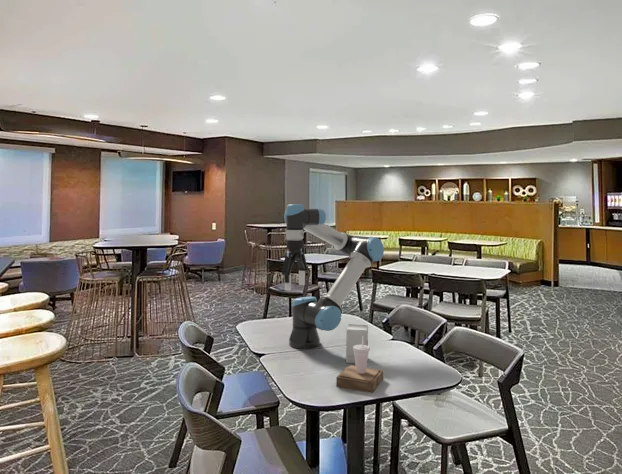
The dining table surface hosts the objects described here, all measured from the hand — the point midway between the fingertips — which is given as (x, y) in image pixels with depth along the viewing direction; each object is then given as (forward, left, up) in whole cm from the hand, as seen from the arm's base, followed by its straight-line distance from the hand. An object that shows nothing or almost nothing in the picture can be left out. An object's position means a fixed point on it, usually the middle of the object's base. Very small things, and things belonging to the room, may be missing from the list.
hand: (295, 287), depth 192 cm
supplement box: (-9, +26, -32) cm, 42 cm away
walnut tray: (+14, +35, -32) cm, 49 cm away
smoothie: (+13, +35, -28) cm, 47 cm away
